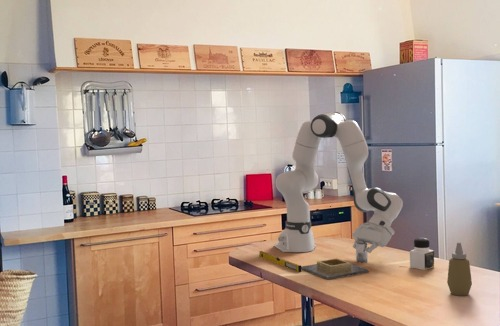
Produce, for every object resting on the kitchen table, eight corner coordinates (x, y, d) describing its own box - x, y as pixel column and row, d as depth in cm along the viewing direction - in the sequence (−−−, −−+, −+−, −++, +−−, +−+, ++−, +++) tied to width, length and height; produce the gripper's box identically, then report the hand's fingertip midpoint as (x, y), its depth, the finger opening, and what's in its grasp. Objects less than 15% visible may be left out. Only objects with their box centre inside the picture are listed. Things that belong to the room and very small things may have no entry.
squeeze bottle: (459, 298, 191) (458, 246, 190) (442, 292, 198) (441, 242, 197) (477, 294, 194) (476, 243, 193) (459, 289, 201) (459, 239, 200)
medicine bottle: (425, 270, 228) (424, 241, 227) (409, 267, 234) (409, 239, 233) (434, 267, 233) (434, 238, 232) (419, 264, 238) (418, 236, 237)
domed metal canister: (354, 261, 248) (353, 240, 247) (362, 259, 250) (362, 239, 249) (360, 263, 243) (360, 242, 243) (369, 261, 246) (369, 241, 245)
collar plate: (300, 268, 237) (300, 260, 237) (339, 262, 246) (339, 254, 246) (327, 279, 219) (327, 270, 219) (368, 272, 228) (368, 263, 228)
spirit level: (259, 257, 262) (259, 251, 262) (262, 257, 262) (261, 250, 262) (298, 273, 232) (298, 265, 232) (301, 272, 233) (301, 265, 233)
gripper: (359, 217, 258) (342, 241, 254) (389, 224, 240) (371, 249, 236) (367, 226, 260) (350, 249, 257) (397, 233, 242) (380, 258, 238)
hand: (361, 249), depth 246 cm, fingers open, 8 cm apart
